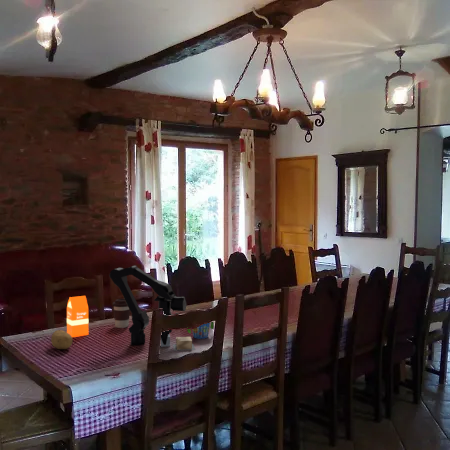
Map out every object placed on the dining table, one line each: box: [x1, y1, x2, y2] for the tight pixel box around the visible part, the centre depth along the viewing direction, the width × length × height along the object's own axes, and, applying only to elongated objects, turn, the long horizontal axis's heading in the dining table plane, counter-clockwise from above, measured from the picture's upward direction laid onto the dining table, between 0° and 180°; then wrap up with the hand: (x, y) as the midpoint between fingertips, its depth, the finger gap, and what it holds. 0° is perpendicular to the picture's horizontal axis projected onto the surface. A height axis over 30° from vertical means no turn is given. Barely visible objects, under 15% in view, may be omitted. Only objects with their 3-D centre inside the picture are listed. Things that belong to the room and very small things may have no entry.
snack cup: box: [186, 321, 215, 340], centre depth 260 cm, size 16×10×10 cm
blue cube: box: [161, 333, 171, 348], centre depth 245 cm, size 5×5×5 cm
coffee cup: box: [112, 298, 131, 329], centre depth 281 cm, size 10×10×15 cm
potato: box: [50, 329, 73, 350], centre depth 238 cm, size 10×14×8 cm
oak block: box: [175, 336, 193, 350], centre depth 241 cm, size 7×7×4 cm
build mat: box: [172, 343, 196, 352], centre depth 241 cm, size 10×10×1 cm
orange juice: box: [66, 295, 89, 338], centre depth 263 cm, size 8×9×20 cm
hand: (164, 341), depth 245 cm, fingers open, 9 cm apart
